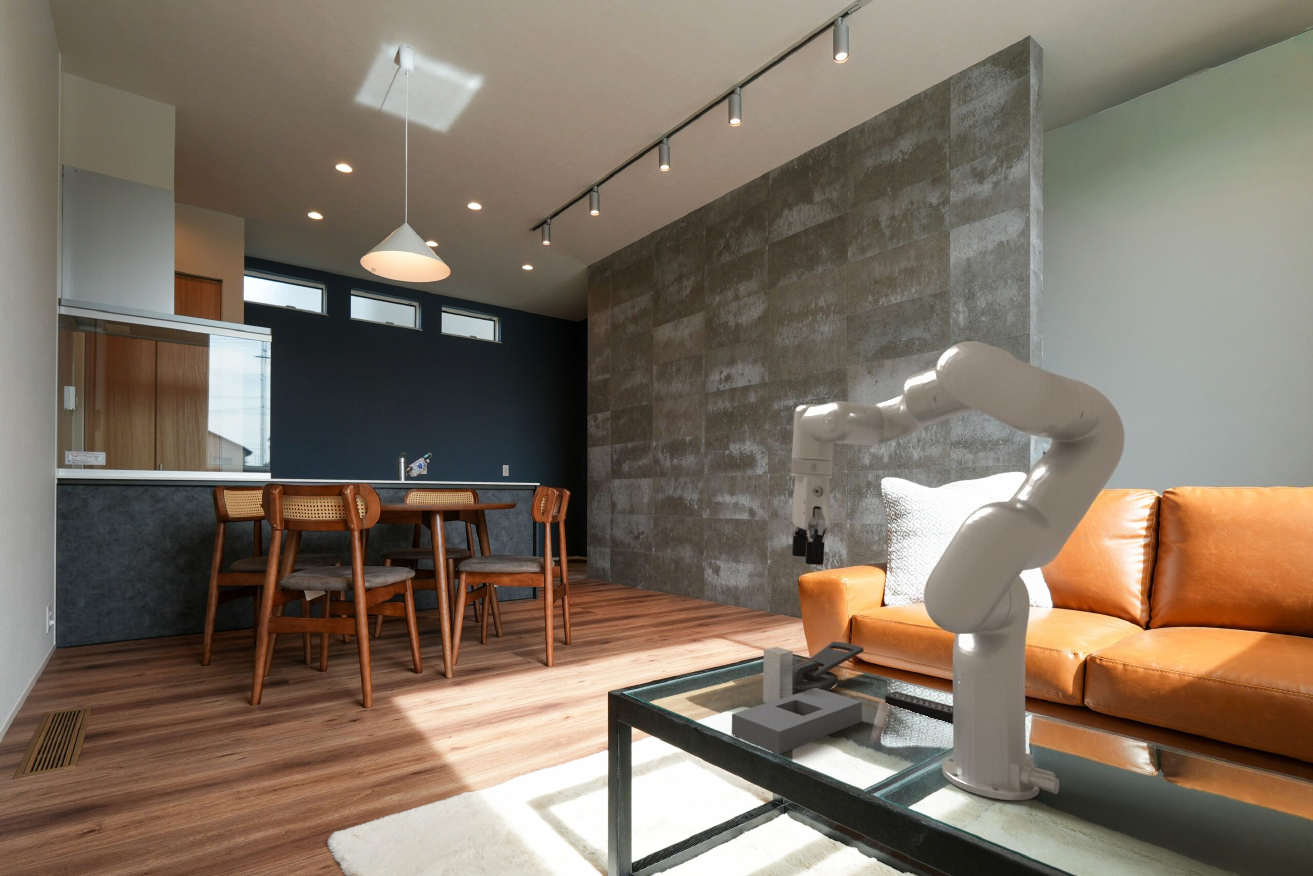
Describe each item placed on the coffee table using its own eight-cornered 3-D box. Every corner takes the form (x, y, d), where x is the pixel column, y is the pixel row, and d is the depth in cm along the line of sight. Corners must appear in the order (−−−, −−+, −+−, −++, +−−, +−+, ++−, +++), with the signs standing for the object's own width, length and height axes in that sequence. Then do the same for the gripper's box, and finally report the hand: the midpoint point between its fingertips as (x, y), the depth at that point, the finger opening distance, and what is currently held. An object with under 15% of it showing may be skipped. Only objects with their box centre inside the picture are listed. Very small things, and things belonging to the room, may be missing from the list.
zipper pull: (867, 647, 148) (809, 667, 130) (867, 677, 147) (809, 701, 129) (832, 640, 154) (772, 658, 136) (831, 668, 153) (771, 690, 135)
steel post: (792, 703, 127) (792, 651, 128) (779, 707, 125) (780, 654, 126) (775, 697, 130) (776, 646, 131) (763, 701, 128) (763, 649, 129)
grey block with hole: (861, 721, 118) (861, 701, 118) (779, 754, 102) (779, 731, 103) (815, 706, 126) (815, 687, 126) (731, 735, 110) (732, 714, 110)
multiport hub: (894, 702, 131) (894, 690, 131) (969, 723, 120) (969, 710, 120) (884, 707, 128) (884, 695, 128) (960, 729, 117) (960, 715, 117)
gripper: (846, 471, 115) (841, 568, 114) (818, 470, 132) (813, 554, 132) (804, 469, 115) (799, 566, 114) (781, 467, 132) (777, 552, 131)
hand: (807, 560), depth 123 cm, fingers open, 9 cm apart
